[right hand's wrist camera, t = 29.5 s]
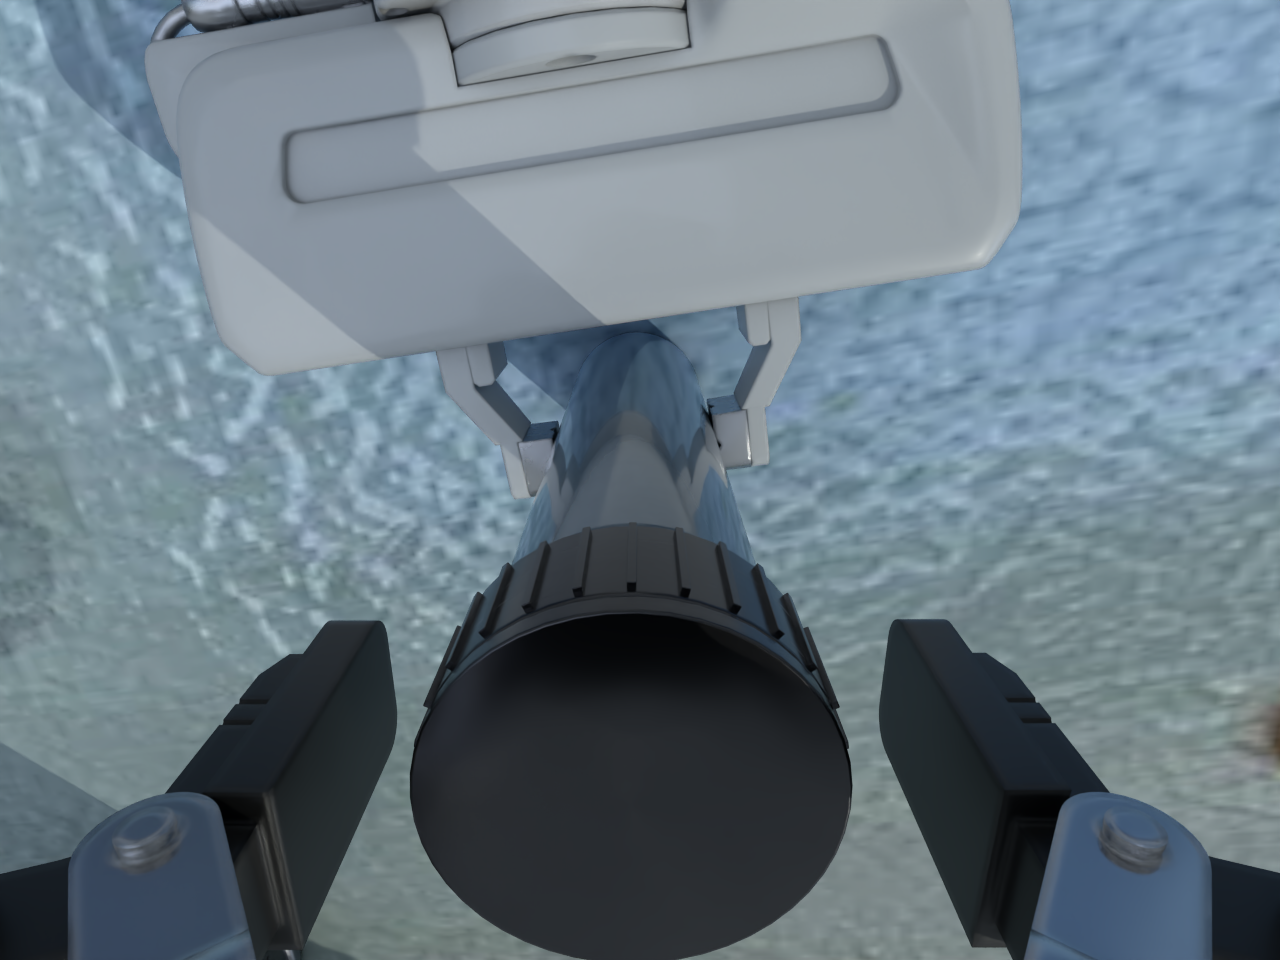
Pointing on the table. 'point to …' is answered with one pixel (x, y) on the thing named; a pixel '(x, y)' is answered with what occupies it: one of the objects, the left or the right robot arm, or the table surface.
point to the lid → (631, 750)
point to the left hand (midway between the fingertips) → (642, 476)
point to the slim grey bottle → (636, 452)
